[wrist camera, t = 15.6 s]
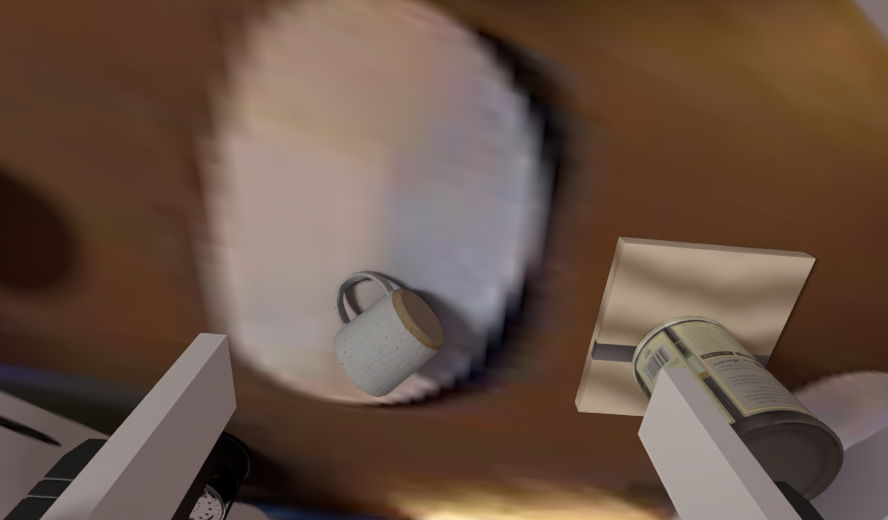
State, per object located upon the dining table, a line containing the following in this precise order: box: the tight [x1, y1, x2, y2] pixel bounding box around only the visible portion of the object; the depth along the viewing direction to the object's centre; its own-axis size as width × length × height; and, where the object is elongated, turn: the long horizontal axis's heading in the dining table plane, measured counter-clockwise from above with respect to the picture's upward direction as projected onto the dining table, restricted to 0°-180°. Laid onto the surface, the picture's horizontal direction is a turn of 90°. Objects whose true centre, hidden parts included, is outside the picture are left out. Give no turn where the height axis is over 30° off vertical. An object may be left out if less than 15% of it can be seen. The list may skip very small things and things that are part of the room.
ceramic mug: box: [334, 271, 444, 397], centre depth 43 cm, size 11×8×8 cm
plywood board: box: [575, 237, 816, 416], centre depth 47 cm, size 20×18×2 cm
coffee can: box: [632, 316, 844, 502], centre depth 40 cm, size 10×10×14 cm
